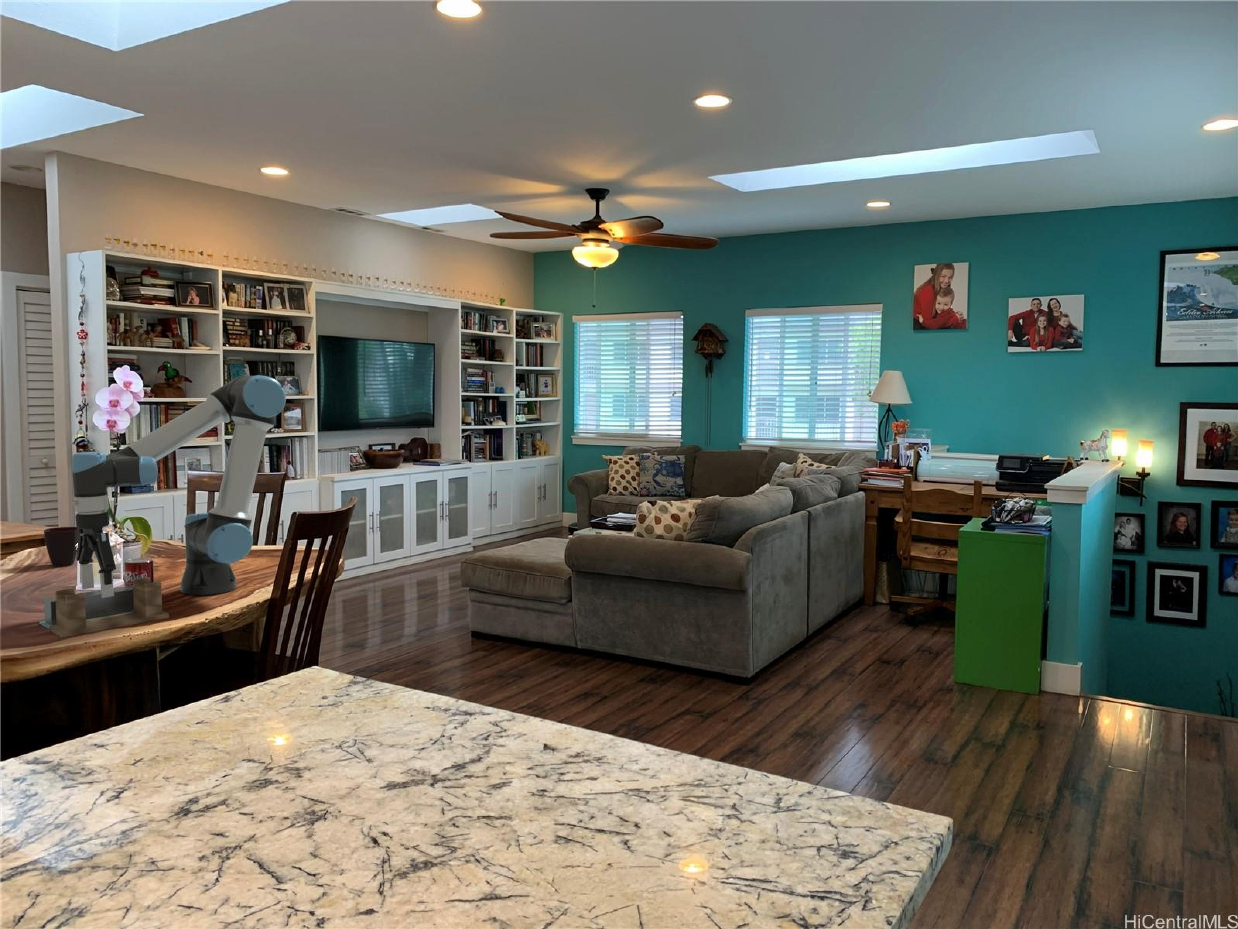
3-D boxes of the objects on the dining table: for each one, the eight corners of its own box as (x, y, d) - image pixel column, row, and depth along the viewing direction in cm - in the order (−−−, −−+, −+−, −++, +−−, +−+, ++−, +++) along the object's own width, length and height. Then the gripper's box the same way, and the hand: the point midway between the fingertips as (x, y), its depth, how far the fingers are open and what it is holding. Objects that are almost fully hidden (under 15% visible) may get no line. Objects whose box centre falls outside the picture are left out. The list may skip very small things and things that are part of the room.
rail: (136, 606, 244) (136, 584, 244) (144, 609, 241) (143, 587, 240) (44, 622, 228) (43, 598, 227) (51, 625, 224) (50, 602, 224)
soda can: (142, 606, 246) (140, 563, 245) (119, 605, 247) (117, 562, 246) (160, 600, 253) (159, 558, 252) (138, 598, 254) (136, 557, 253)
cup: (44, 569, 292) (42, 532, 291) (48, 561, 305) (46, 526, 303) (79, 566, 297) (78, 530, 296) (82, 559, 309) (80, 524, 308)
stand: (155, 612, 240) (154, 576, 239) (169, 617, 235) (167, 581, 234) (49, 630, 221) (47, 591, 220) (61, 637, 216) (59, 597, 215)
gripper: (58, 509, 237) (64, 587, 239) (94, 518, 221) (100, 603, 223) (90, 505, 243) (95, 582, 245) (126, 515, 227) (132, 597, 229)
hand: (97, 592), depth 234 cm, fingers open, 13 cm apart
